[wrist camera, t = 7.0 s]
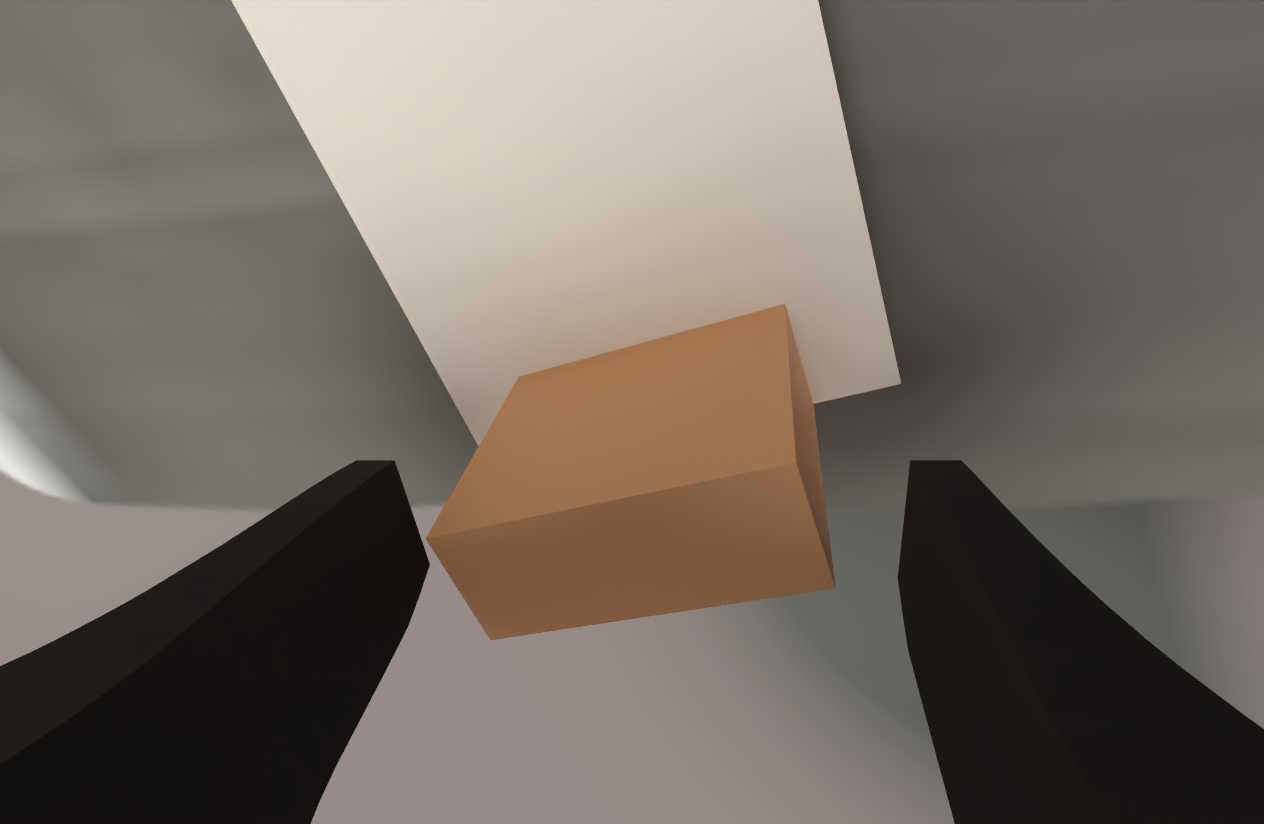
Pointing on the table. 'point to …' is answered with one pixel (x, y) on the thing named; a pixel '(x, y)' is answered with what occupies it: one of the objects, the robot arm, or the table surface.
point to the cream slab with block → (607, 279)
